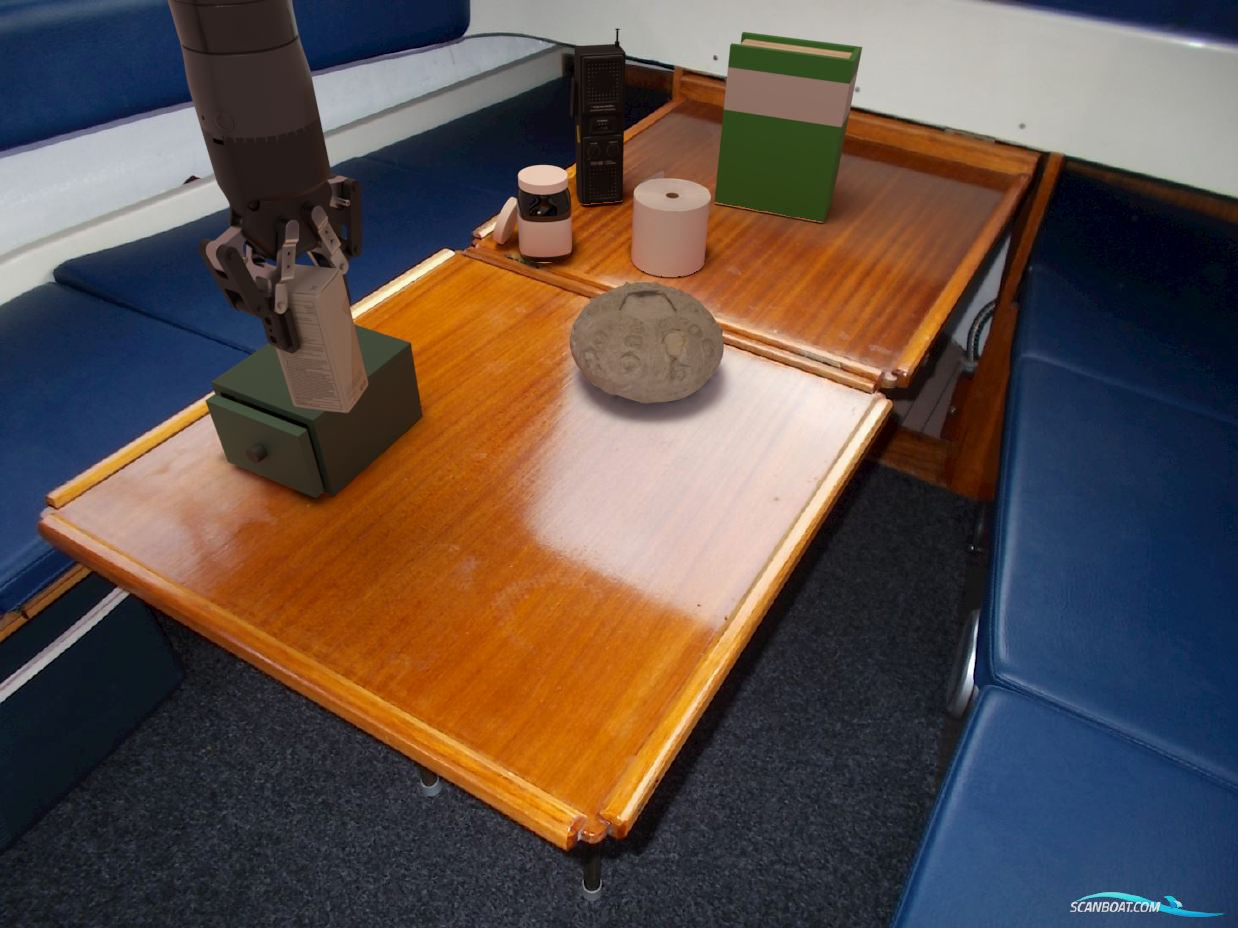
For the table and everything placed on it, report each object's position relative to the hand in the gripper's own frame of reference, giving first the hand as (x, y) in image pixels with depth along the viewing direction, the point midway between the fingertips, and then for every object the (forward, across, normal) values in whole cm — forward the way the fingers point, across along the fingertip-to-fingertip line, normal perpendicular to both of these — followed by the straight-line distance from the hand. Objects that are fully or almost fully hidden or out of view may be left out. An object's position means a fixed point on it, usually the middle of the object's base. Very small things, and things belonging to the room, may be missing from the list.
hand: (313, 330), depth 68 cm
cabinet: (+23, -9, -12) cm, 27 cm away
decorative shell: (+23, -36, +13) cm, 44 cm away
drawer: (+21, -7, -12) cm, 25 cm away
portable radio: (+23, -76, -16) cm, 81 cm away
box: (+7, 0, 0) cm, 7 cm away
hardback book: (+23, -89, +10) cm, 92 cm away
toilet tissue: (+23, -64, +2) cm, 68 cm away
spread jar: (+23, -56, -16) cm, 63 cm away
